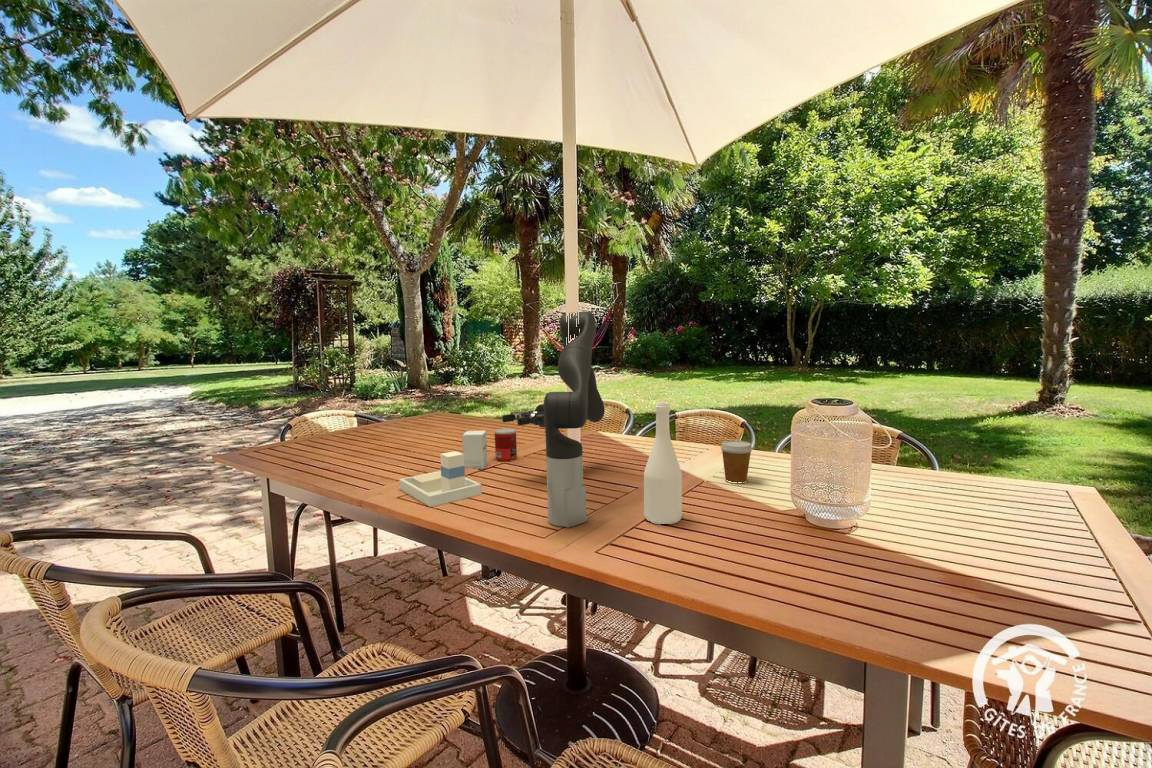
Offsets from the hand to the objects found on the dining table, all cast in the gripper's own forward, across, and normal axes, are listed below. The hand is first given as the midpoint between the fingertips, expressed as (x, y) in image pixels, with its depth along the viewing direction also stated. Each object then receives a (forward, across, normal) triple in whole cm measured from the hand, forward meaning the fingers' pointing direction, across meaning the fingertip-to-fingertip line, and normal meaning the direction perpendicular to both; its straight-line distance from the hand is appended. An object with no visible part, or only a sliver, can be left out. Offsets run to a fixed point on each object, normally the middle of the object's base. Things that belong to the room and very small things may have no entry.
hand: (510, 420), depth 162 cm
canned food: (-18, -31, +20) cm, 42 cm away
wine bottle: (-14, +48, +22) cm, 55 cm away
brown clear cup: (-55, +43, +21) cm, 73 cm away
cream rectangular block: (+19, -15, +20) cm, 32 cm away
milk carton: (+17, -5, +20) cm, 27 cm away
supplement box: (-4, -30, +21) cm, 36 cm away
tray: (+19, -10, +21) cm, 30 cm away
